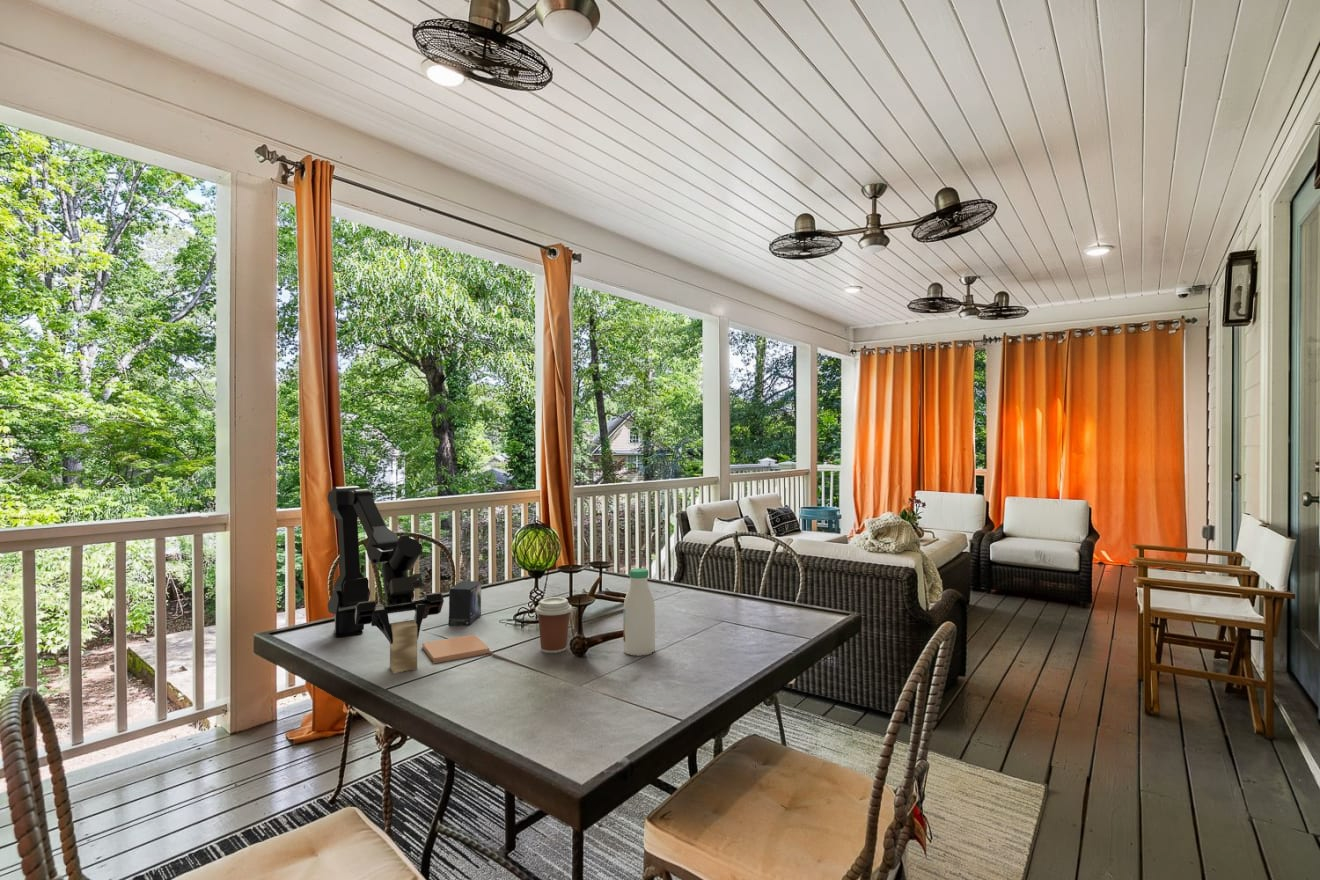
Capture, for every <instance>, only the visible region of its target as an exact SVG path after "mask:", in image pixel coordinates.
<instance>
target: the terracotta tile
mask: <svg viewBox="0 0 1320 880" xmlns="http://www.w3.org/2000/svg"><path fill="white" fill-rule="evenodd" d="M421 644H422V645H421V646H422V647H421V648H422V649H423V651H424V652H425V653H426V655H427V657H429V659H430V661H433V662H432V663H433V664H438V663H442V662H448V661H453V660H460V659H464V658H470V657H475V656H480V655H481V656H482V655H486V653H487V654H490V647H489V646H487V644H485V642H484V641H483V640H481V639H480V638H479V636H477V635H476V634H469V635H463V636H462V635H461V636H458V637H457V636H456V637H449V638H444V639H438V640H431V641H426V642H422V643H421Z"/></svg>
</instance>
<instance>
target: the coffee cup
mask: <svg viewBox="0 0 1320 880" xmlns="http://www.w3.org/2000/svg"><path fill="white" fill-rule="evenodd" d="M534 610H535V614H537V617H538V630H539V639H540V640H539V641H540V651H541V652H543V653H546V654H558V653H557V652H559V653H562V652H561V651H563V652H564V650H565V651H566V650H567V649H568V635H569V623H570V613H571V612H572V611H573V606H572V605H571V604H570V603H569V600H568V599H567V598H565V597H560V596H559V597H558V596H553V597H551V596H550V597H546V598H542V599H541V600H539V604H538V605H537V606H535V608H534ZM566 648H567V649H566Z"/></svg>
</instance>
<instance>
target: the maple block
mask: <svg viewBox="0 0 1320 880" xmlns="http://www.w3.org/2000/svg"><path fill="white" fill-rule="evenodd" d="M389 623H390V627H391V631H392V636H393V644H390V643H389V667H390V670H391V669H392V670H391V672H392V671H393V672H392V674H393V673H395V674H399V673H398V672H401V673H404V672H403V671H406V672H409V671H408V670H412V671H415V670H414V669H417V670H418V640H417V624H416V623H415V622H414V619H410V620H403V621H395V622H389Z"/></svg>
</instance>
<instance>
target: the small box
mask: <svg viewBox="0 0 1320 880" xmlns="http://www.w3.org/2000/svg"><path fill="white" fill-rule="evenodd" d="M448 590H449V592H448V594H449V595H448V597H449V598H448V626H471V625H472V624H473V623H474V622H475V621H476V620H477V618H478V617H479V616H480V615H481V616H482V581H478V580H477V581H475V580H460V581H459V582H457V584H454V585H453V586H451V587H449V588H448ZM481 616H480V617H481ZM480 617H479V618H480ZM479 618H478V619H479ZM471 623H472V624H471Z"/></svg>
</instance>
